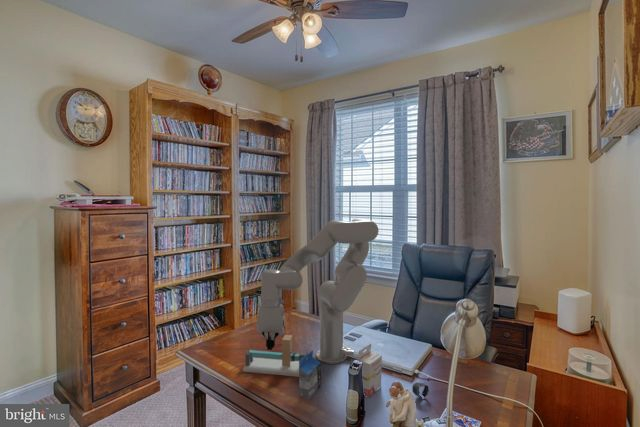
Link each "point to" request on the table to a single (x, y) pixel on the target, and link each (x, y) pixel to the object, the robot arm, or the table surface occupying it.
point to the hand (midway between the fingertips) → (270, 348)
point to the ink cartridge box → (370, 370)
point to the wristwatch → (416, 389)
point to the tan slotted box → (287, 349)
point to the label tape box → (309, 376)
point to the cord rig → (272, 363)
